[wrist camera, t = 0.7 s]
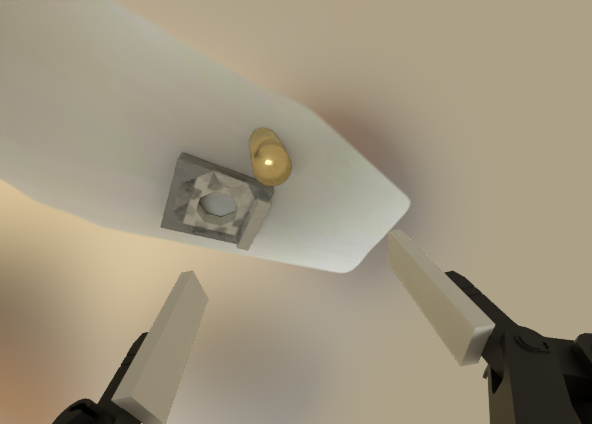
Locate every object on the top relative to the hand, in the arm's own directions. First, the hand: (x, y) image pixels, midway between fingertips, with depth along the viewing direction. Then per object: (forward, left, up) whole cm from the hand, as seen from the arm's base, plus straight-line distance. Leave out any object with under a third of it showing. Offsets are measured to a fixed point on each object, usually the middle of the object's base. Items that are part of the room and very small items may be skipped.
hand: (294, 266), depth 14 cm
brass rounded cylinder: (-2, 0, -23) cm, 23 cm away
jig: (+7, -8, -23) cm, 25 cm away
